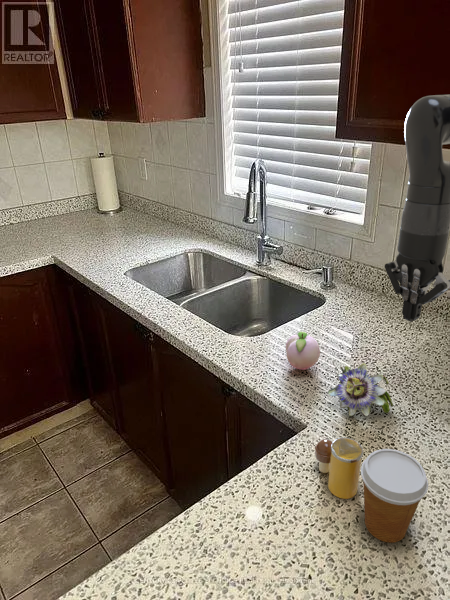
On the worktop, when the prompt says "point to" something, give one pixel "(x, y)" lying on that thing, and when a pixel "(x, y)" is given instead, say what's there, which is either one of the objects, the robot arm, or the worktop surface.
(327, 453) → the mushroom
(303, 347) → the decorative fruit
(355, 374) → the passion flower
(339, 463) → the yellow tin
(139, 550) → the worktop surface
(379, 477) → the disposable coffee cup
